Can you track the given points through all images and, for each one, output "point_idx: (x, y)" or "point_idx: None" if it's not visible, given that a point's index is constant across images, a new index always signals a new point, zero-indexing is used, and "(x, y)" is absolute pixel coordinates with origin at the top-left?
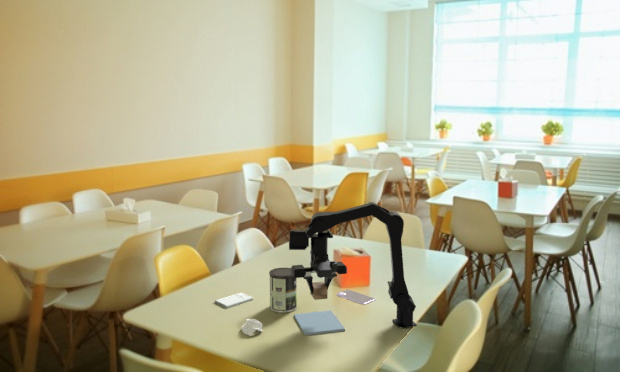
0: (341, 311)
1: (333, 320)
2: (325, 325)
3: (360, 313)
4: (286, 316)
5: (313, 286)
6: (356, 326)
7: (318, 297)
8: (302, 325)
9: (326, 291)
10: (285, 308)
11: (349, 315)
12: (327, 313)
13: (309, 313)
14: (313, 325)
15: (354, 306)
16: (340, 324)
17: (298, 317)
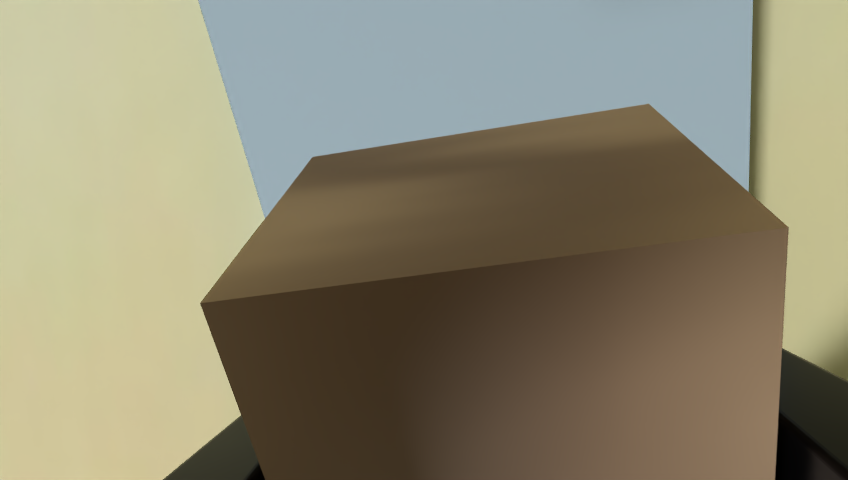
0: (218, 394)
1: (305, 148)
2: (416, 8)
3: (26, 333)
4: (817, 346)
5: (763, 456)
6: (38, 11)
7: (552, 134)
8: (724, 31)
9: (288, 228)
10: None
11: (135, 301)
12: None
13: None
14: (576, 18)
15: (96, 475)
16: (221, 22)
17: None
